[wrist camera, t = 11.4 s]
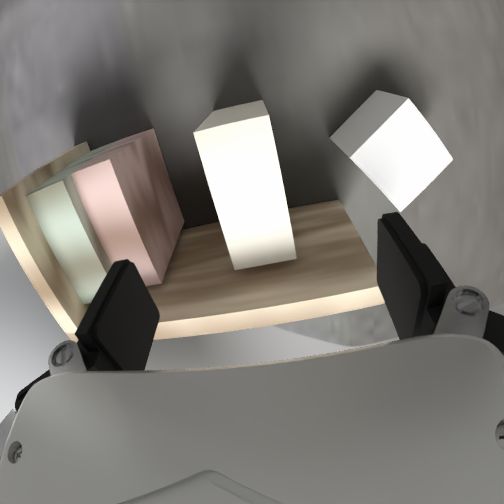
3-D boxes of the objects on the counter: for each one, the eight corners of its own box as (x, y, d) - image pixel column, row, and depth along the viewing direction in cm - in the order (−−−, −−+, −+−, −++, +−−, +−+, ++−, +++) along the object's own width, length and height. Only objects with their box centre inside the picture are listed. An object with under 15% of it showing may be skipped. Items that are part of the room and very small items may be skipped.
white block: (212, 111, 23) (193, 132, 15) (262, 99, 22) (268, 115, 15) (239, 209, 28) (234, 270, 20) (283, 200, 27) (296, 258, 20)
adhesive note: (375, 89, 22) (408, 97, 16) (417, 138, 24) (453, 159, 19) (328, 138, 24) (349, 158, 19) (373, 183, 26) (400, 212, 21)
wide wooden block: (74, 146, 24) (-11, 202, 14) (321, 79, 21) (380, 89, 11) (120, 256, 30) (74, 344, 20) (339, 214, 28) (384, 303, 18)
